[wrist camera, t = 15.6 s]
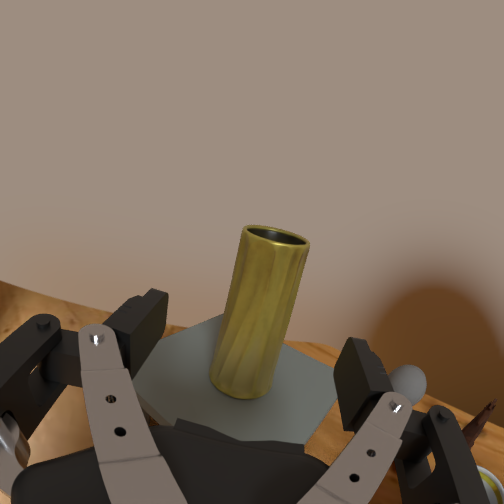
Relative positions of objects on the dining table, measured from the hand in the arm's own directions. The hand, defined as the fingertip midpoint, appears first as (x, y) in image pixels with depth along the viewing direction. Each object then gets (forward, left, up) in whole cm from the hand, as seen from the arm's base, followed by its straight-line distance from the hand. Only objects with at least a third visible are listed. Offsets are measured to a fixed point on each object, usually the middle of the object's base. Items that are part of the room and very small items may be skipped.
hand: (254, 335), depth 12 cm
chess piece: (+25, +25, -21) cm, 41 cm away
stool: (-5, +10, -21) cm, 24 cm away
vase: (-5, +10, -12) cm, 16 cm away
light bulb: (+11, +25, -21) cm, 34 cm away
